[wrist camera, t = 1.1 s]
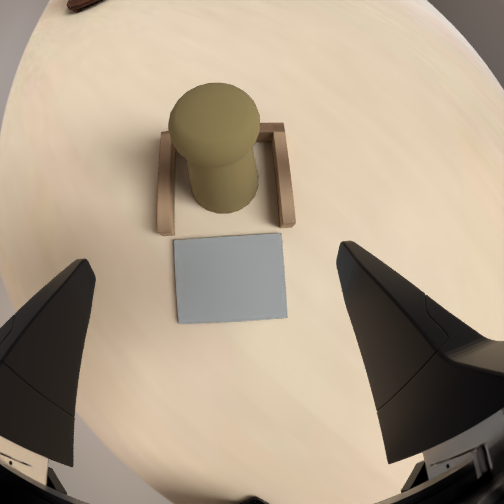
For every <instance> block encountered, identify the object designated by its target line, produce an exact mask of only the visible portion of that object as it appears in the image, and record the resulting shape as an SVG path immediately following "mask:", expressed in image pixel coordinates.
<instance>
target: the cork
mask: <svg viewBox="0 0 504 504" xmlns="http://www.w3.org/2000/svg"><path fill="white" fill-rule="evenodd" d="M168 129H169V134H170V139H171V142H172V144H173V145H174V147H175V148H176V150H177V151H178V153H179V154H180V155H181V156H183V157H184V158H186V159H187V165H188V172H189V179H190V185H191V189H192V193H193V196H194V198H195V199H196V201H197V202H198V203H199V204H200V205H201V206H202V207H204V208H205V209H206V210H209V211H212V212H215V213H232V212H235V211H239V210H240V209H242V208H243V207H245V206H246V205H248V204H249V203H250V201H251V200H252V199H253V198H254V197H255V194H256V192H257V189H258V178H259V176H258V172H257V167H256V162H255V158H254V153H253V149H252V147H253V145H254V144H255V142H256V139H257V137H258V134H259V130H260V115H259V112H258V110H257V107H256V105H255V103H254V101H253V100H252V99H251V98H250V96H249V95H248V94H247V93H246V92H244V91H243V90H241V89H239V88H237V87H235V86H233V85H230V84H225V83H208V84H204V85H200V86H197V87H195V88H193V89H191V90H189V91H188V92H186V93H185V94H184V95H183V96H182V97H181V98H180V99H179V100H178V101H177V103H176V104H175V106H174V108H173V110H172V111H171V113H170V118H169V124H168Z"/></svg>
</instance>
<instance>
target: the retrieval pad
mask: <svg viewBox="0 0 504 504" xmlns="http://www.w3.org/2000/svg"><path fill="white" fill-rule="evenodd" d="M174 256H175V278H176V294H177V308H178V320H179V324H196V323H221V322H239V321H254V320H267V319H279V318H288V317H287V301H286V286H285V272H284V259H283V247H282V235H281V233H276V234H259V235H243V236H228V237H213V238H199V239H185V240H174Z"/></svg>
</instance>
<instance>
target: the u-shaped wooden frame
mask: <svg viewBox="0 0 504 504" xmlns="http://www.w3.org/2000/svg"><path fill="white" fill-rule="evenodd" d="M256 142H272V149H273V158H274V168H275V177H276V187H277V197H278V208H279V218H280V228H290V227H293V226H294V224H295V223H296V219H295V209H294V200H293V191H292V183H291V174H290V166H289V158H288V151H287V144H286V136H285V129H284V123H260V130H259V134H258V137H257V139H256ZM175 152H176V148H175V147H174V145H173V144H172V142H171V139H170V134H169V131H165V132H161V141H160V155H159V173H158V204H157V232H158V233H160V234H161V235H163V236H169V235H175V226H174V186H175Z"/></svg>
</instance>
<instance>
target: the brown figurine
mask: <svg viewBox="0 0 504 504" xmlns="http://www.w3.org/2000/svg"><path fill="white" fill-rule="evenodd" d="M96 1H99V0H69V1H68V2H67V7H68V9H69V10H74V11H75V12H79V8H82V7H85V6H87V5H90V4H92V3H94V2H96Z"/></svg>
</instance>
